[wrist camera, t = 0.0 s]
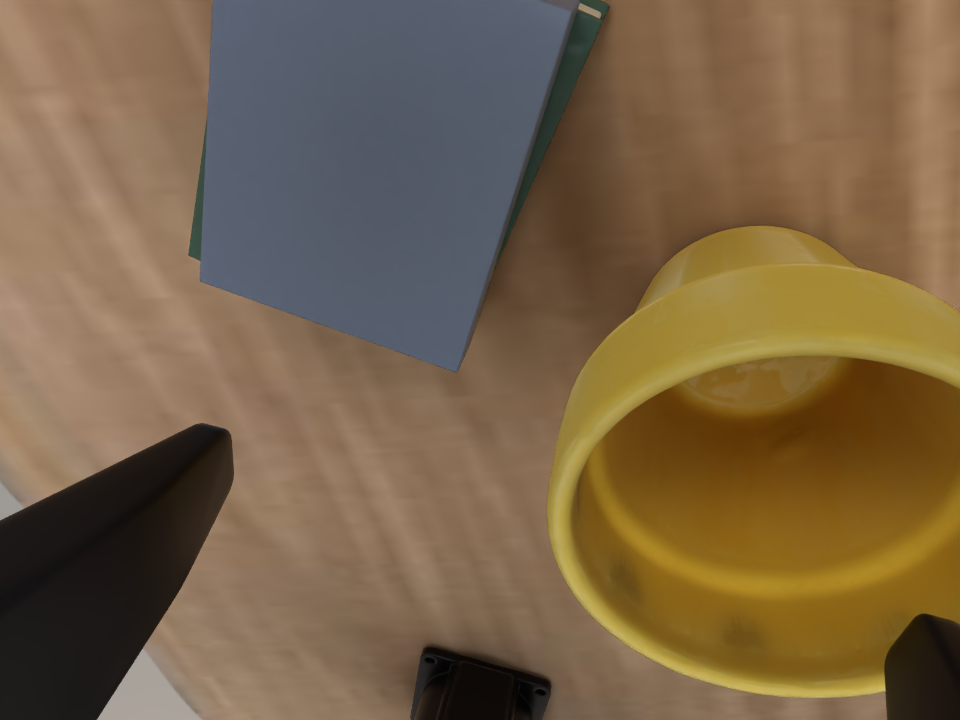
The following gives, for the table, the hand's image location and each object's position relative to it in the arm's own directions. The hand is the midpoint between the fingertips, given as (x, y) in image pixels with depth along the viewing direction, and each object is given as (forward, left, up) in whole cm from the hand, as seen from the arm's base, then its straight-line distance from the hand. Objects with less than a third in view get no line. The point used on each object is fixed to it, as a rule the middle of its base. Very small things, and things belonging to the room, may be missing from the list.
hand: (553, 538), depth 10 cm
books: (0, +7, -15) cm, 16 cm away
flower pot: (-4, -5, -15) cm, 16 cm away
